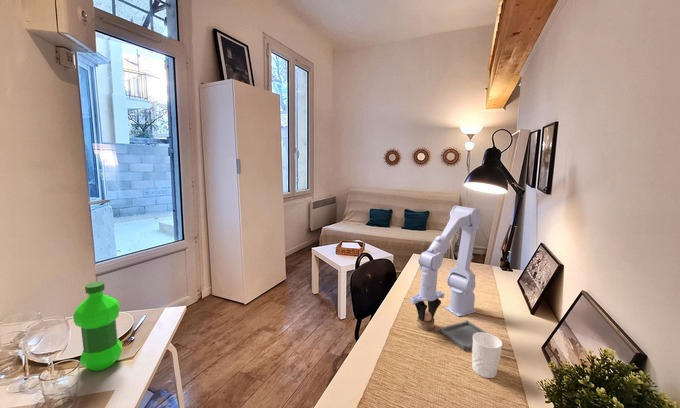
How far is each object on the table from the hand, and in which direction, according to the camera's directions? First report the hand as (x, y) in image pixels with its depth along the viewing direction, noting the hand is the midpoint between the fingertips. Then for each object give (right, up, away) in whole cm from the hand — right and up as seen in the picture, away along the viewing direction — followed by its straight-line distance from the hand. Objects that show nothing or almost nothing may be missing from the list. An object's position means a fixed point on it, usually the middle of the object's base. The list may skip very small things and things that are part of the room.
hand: (426, 318), depth 113 cm
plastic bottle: (-102, -5, -24) cm, 105 cm away
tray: (+13, -4, -6) cm, 15 cm away
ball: (0, -1, 0) cm, 1 cm away
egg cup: (0, -3, 0) cm, 3 cm away
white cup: (+11, -7, -23) cm, 26 cm away
